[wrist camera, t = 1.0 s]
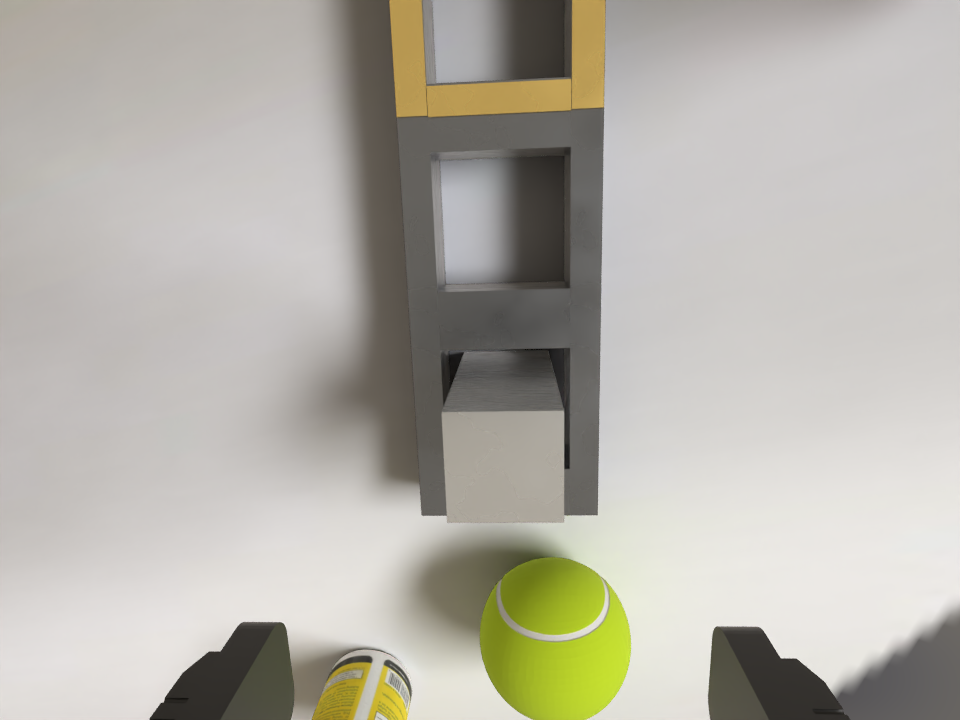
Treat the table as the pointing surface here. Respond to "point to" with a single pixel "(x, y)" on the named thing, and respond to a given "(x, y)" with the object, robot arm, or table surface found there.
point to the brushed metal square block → (504, 439)
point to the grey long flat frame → (503, 306)
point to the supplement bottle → (366, 688)
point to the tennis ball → (555, 640)
